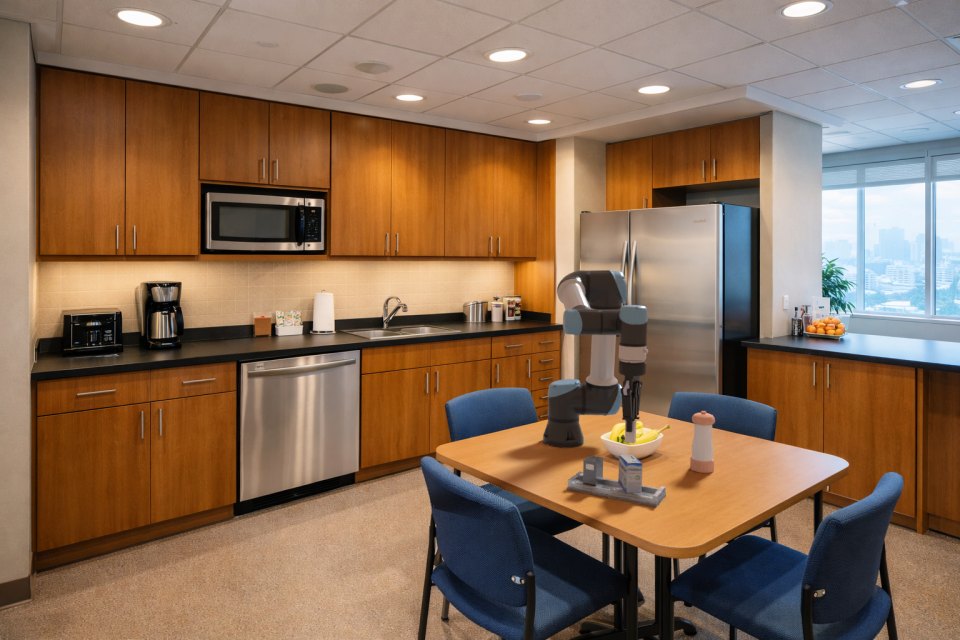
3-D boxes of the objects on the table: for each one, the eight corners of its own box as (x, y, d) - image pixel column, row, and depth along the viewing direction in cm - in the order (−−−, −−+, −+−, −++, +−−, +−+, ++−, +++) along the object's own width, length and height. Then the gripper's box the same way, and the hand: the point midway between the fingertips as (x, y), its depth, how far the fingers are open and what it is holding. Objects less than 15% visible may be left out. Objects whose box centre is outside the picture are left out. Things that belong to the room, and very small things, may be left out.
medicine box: (617, 483, 179) (618, 454, 178) (632, 483, 179) (633, 454, 178) (626, 493, 171) (627, 463, 170) (642, 493, 171) (642, 462, 171)
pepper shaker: (718, 472, 195) (720, 413, 194) (697, 473, 194) (698, 414, 193) (706, 465, 202) (708, 408, 201) (685, 466, 201) (687, 408, 200)
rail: (567, 489, 179) (567, 460, 179) (580, 479, 188) (580, 451, 187) (656, 507, 166) (657, 475, 165) (665, 495, 175) (666, 465, 174)
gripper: (638, 365, 165) (636, 450, 167) (652, 358, 176) (649, 438, 178) (611, 362, 168) (609, 446, 171) (626, 356, 179) (624, 434, 182)
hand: (630, 442), depth 174 cm, fingers closed
